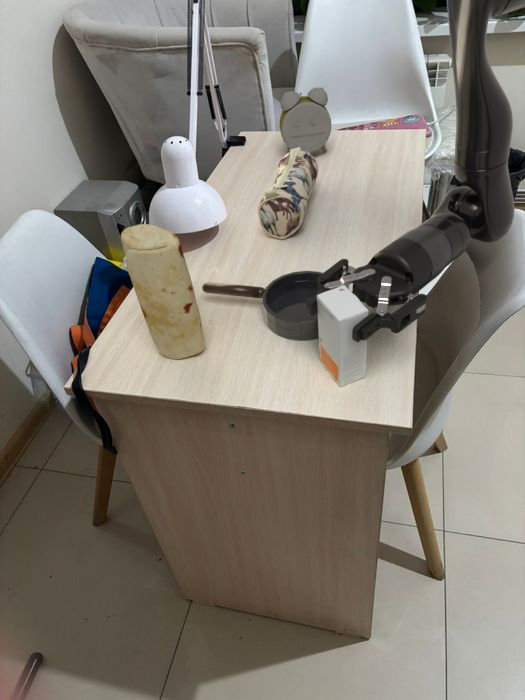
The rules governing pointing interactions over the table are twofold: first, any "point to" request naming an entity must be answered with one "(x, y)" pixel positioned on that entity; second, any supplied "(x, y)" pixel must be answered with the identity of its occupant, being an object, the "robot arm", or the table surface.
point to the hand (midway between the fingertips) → (331, 322)
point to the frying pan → (291, 305)
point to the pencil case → (288, 194)
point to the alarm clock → (305, 120)
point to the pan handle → (233, 290)
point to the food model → (164, 289)
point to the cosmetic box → (341, 335)
